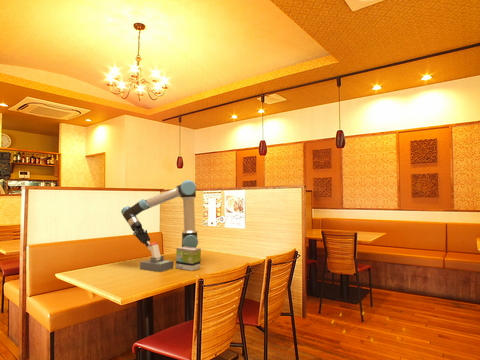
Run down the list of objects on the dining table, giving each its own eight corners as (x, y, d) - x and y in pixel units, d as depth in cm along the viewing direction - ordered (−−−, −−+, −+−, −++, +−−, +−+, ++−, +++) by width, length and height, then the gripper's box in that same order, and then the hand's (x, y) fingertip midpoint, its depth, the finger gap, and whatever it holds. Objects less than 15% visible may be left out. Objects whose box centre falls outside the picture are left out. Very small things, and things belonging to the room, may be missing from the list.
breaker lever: (153, 262, 214) (149, 243, 217) (158, 260, 220) (154, 242, 223) (156, 261, 213) (151, 242, 216) (161, 259, 219) (157, 241, 222)
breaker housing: (140, 269, 214) (140, 257, 214) (153, 265, 227) (153, 254, 227) (160, 272, 206) (161, 259, 207) (173, 268, 219) (173, 256, 220)
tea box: (175, 268, 218) (175, 247, 219) (184, 266, 227) (184, 246, 227) (192, 271, 211) (192, 249, 212) (200, 268, 220) (201, 247, 220)
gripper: (138, 227, 234) (154, 251, 226) (125, 228, 222) (141, 254, 214) (144, 220, 232) (160, 244, 224) (131, 221, 220) (148, 247, 212)
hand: (151, 249), depth 219 cm, fingers closed
